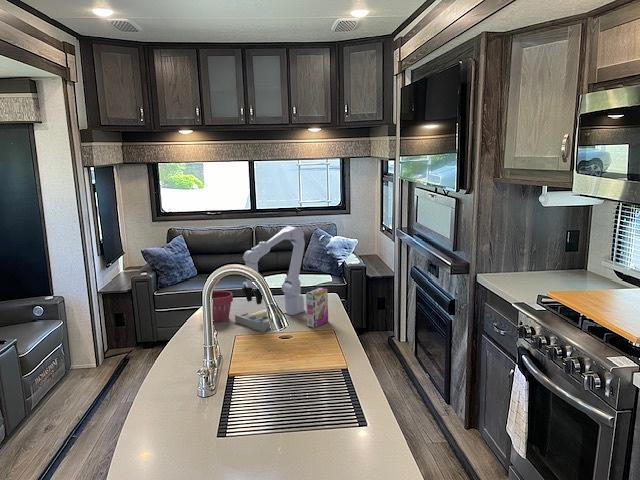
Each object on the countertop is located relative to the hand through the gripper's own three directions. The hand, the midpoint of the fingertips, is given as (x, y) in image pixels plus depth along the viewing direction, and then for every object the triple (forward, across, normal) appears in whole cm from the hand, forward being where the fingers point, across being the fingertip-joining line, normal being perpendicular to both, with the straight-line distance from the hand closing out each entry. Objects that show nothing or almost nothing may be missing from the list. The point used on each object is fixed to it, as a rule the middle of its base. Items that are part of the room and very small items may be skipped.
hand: (254, 302), depth 230 cm
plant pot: (+10, -17, -9) cm, 22 cm away
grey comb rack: (+9, +4, -4) cm, 11 cm away
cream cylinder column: (+10, -2, +2) cm, 10 cm away
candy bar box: (+10, +27, +16) cm, 33 cm away
